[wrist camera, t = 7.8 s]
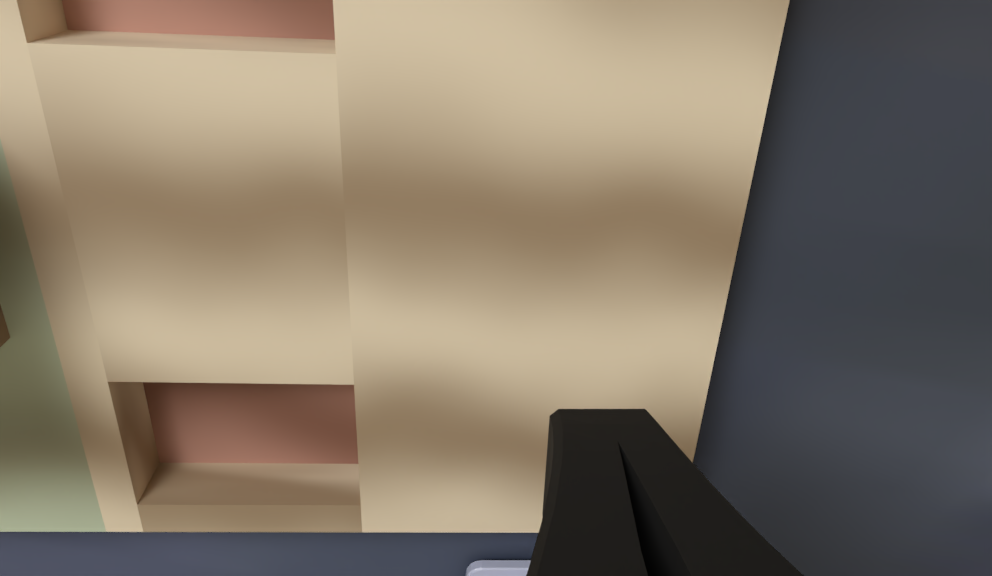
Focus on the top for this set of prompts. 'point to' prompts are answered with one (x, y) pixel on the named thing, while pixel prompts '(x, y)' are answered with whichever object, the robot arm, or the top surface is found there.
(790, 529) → the top surface
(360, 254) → the trap deck
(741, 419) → the top surface
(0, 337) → the walnut block
